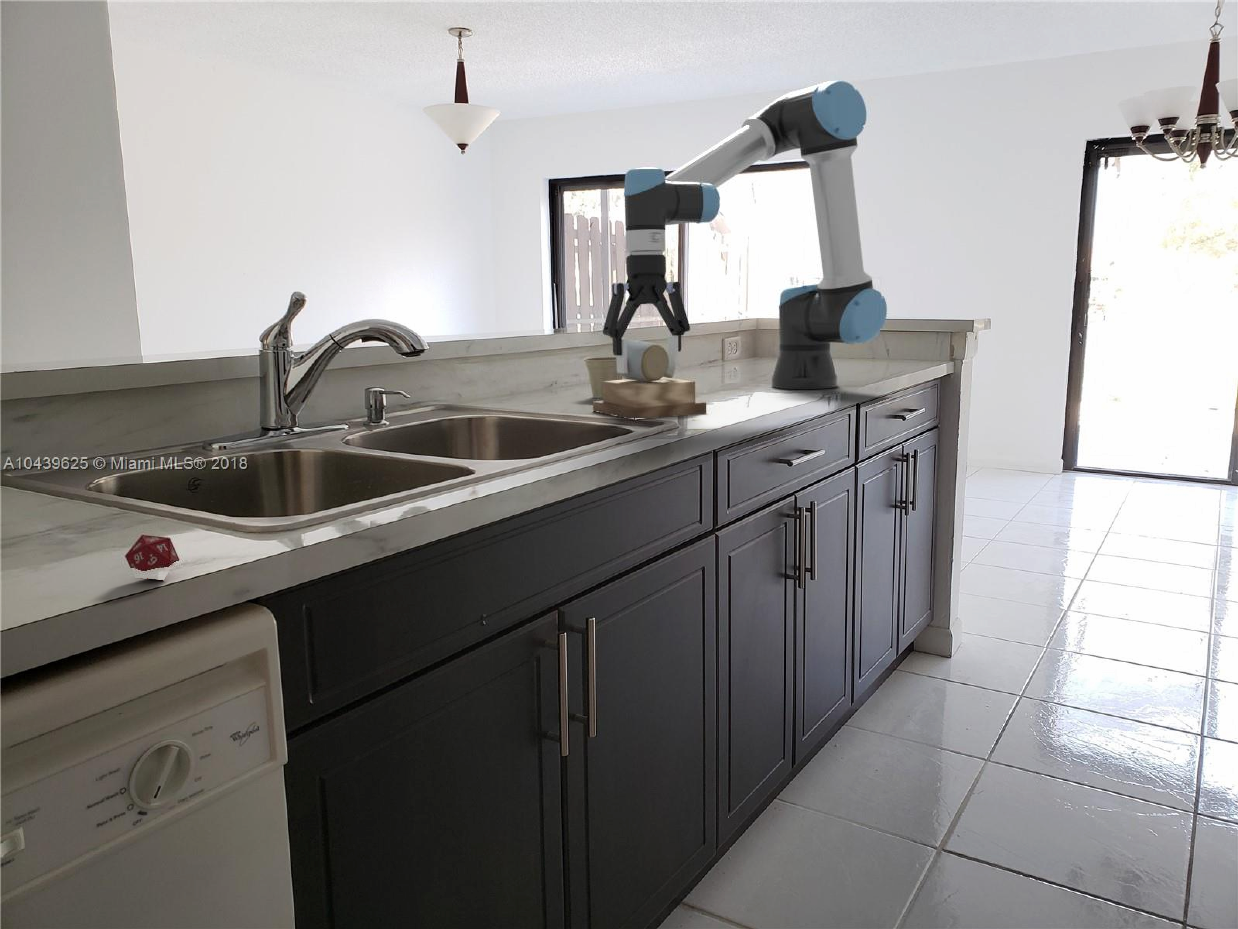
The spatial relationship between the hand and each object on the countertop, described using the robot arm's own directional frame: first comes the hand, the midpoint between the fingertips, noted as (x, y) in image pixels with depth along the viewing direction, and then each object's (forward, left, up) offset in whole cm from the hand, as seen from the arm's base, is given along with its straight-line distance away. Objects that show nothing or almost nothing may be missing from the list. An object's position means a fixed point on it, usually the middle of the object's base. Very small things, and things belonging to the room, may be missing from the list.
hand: (648, 370), depth 181 cm
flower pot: (-6, -28, -8) cm, 30 cm away
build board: (0, 0, -8) cm, 8 cm away
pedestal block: (0, 0, -6) cm, 6 cm away
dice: (+91, +66, -8) cm, 113 cm away
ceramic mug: (0, 0, -2) cm, 2 cm away
